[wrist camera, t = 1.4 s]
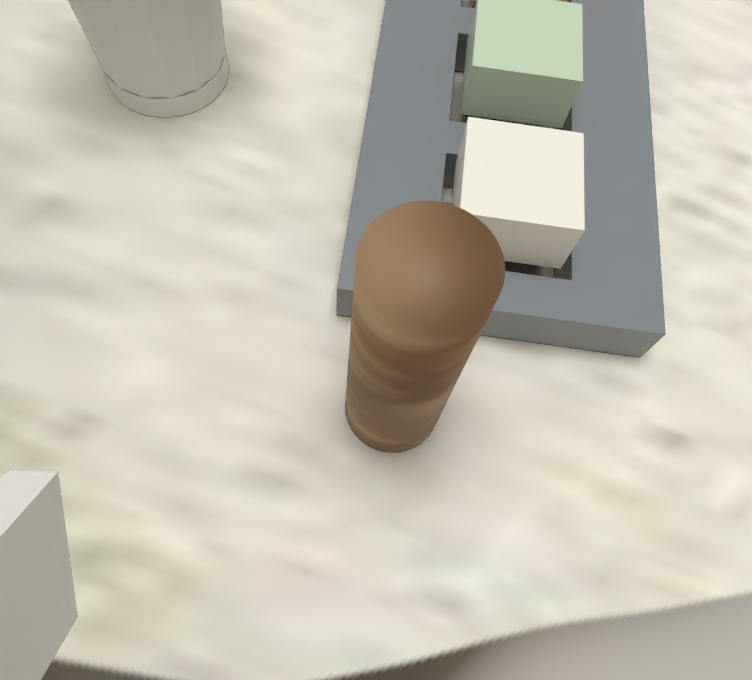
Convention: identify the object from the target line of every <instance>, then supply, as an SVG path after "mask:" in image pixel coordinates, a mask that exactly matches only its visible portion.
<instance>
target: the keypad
mask: <svg viewBox="0 0 752 680" xmlns="http://www.w3.org/2000/svg"><path fill="white" fill-rule="evenodd" d="M567 2H571V3H578V4H582V19H583V83H582V85H581V87H580V89H579V92H578V94H577V96H576V98H575V100H574V103H573V105H572V107H571V109H570V111H569V113H568V116H567V118H566V120H565V122H564V124H563V127H562V128H556V129H558V130H565V131H572V132H579V133H584V215H585V231H584V232H583V234H582V235H581V237H580V239H579V240H578V242H577V243H576V245H575V247H574V248H573V250H572V251H571V253H570V255H569V256H568V258H567V259H566V261H565V263H564V264H563V266H562V267H561V269H558V268H555V270H554V278H552V277H545V276H538V275H531V274H523V273H516V272H509V271H505V280H504V284H503V288H502V291H501V293H500V295H499V297H498V299H497V301H496V303H495V305H494V307H493V309H492V311H491V313H490V315H489V317H488V319H487V321H486V323H485V325H484V327H483V329H482V331H481V333H480V335H485V336H492V337H499V338H506V339H513V340H520V341H527V342H535V343H542V344H549V345H556V346H563V347H570V348H577V349H584V350H592V351H599V352H606V353H613V354H620V355H627V356H634V357H641V356H642V355H643V354H644V353H645V352H647V351H648V350H649V349H650V348H651V347H652V346H653V345H654V344H655V343H656V342H658V341H659V340H660V339H661V338H662V337H663V336H664V335H665V320H664V305H663V290H662V275H661V260H660V245H659V230H658V214H657V199H656V184H655V169H654V154H653V139H652V124H651V108H650V93H649V78H648V63H647V48H646V33H645V18H644V2H643V0H568V1H567ZM473 13H474V8H470V7H463V6H461V0H386V3H385V9H384V15H383V20H382V26H381V32H380V38H379V44H378V50H377V56H376V62H375V68H374V74H373V79H372V85H371V91H370V97H369V103H368V109H367V115H366V121H365V127H364V133H363V138H362V144H361V150H360V156H359V162H358V168H357V174H356V180H355V186H354V192H353V197H352V203H351V209H350V215H349V221H348V227H347V233H346V239H345V245H344V251H343V256H342V262H341V268H340V274H339V280H338V286H337V315H342V316H349V317H352V305H353V291H354V277H355V263H356V251H357V247H358V243H359V241H360V239H361V236H362V234H363V233H364V231H365V229H366V228H367V227H368V226H369V224H370V223H371V222H372V221H373V220H374V219H375V218H376V217H377V216H379V215H380V214H382V213H383V212H384V211H386V210H388V209H390V208H392V207H395V206H397V205H400V204H403V203H407V202H413V201H438V202H441V199H442V189H443V187H450V188H454V177H455V166H456V160H457V156H458V153H459V149H460V145H461V141H462V138H463V134H464V130H465V126H466V123H464V122H457V121H450V120H449V119H450V109H451V99H452V89H453V79H454V71H460V72H464V68H465V57H466V46H467V39H468V34H469V30H470V26H471V21H472V17H473Z"/></svg>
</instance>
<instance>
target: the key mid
mask: <svg viewBox="0 0 752 680" xmlns="http://www.w3.org/2000/svg"><path fill="white" fill-rule="evenodd" d="M582 83H583V19H582V4H578V3H571V2H564V1H557V0H476V4H475V8H474V13H473V17H472V21H471V26H470V30H469V34H468V39H467V46H466V57H465V68H464V79H463V90H462V101H461V112H460V114H464V115H471V116H478V117H485V118H492V119H499V120H506V121H513V122H520V123H527V124H534V125H541V126H548V127H555V128H562V127H563V124H564V122H565V120H566V118H567V116H568V113H569V111H570V109H571V107H572V105H573V103H574V100H575V98H576V96H577V94H578V92H579V89H580V87H581V85H582Z"/></svg>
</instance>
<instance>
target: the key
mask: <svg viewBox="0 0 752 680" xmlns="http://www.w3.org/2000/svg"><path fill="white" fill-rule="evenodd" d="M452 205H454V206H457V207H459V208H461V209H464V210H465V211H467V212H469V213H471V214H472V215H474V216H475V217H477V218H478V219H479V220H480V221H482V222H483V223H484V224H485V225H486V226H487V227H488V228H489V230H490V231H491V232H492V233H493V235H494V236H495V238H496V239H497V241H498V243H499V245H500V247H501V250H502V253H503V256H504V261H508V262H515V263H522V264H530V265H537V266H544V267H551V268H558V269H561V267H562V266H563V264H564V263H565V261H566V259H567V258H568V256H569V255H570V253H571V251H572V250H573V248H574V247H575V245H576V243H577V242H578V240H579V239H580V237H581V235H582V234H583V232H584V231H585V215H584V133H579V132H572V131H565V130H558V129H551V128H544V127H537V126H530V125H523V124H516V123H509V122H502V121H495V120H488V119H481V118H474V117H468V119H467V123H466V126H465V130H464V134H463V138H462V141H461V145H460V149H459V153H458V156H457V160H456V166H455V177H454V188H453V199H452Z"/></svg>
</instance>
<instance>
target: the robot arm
mask: <svg viewBox="0 0 752 680" xmlns="http://www.w3.org/2000/svg"><path fill="white" fill-rule="evenodd" d="M77 617H78V615H77V608H76V601H75V593H74V586H73V579H72V571H71V564H70V556H69V549H68V542H67V534H66V527H65V520H64V512H63V505H62V498H61V490H60V483H59V476H58V472H55V471H8V472H7V473H6V474H5V475H4V476H3V477H2V478H1V479H0V680H41V679H42V677H43V675H44V674H45V672H46V670H47V668H48V667H49V665H50V663H51V662H52V660H53V658H54V656H55V655H56V653H57V651H58V650H59V648H60V646H61V644H62V643H63V641H64V639H65V637H66V636H67V634H68V632H69V631H70V629H71V627H72V625H73V624H74V622H75V620H76V619H77Z"/></svg>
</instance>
